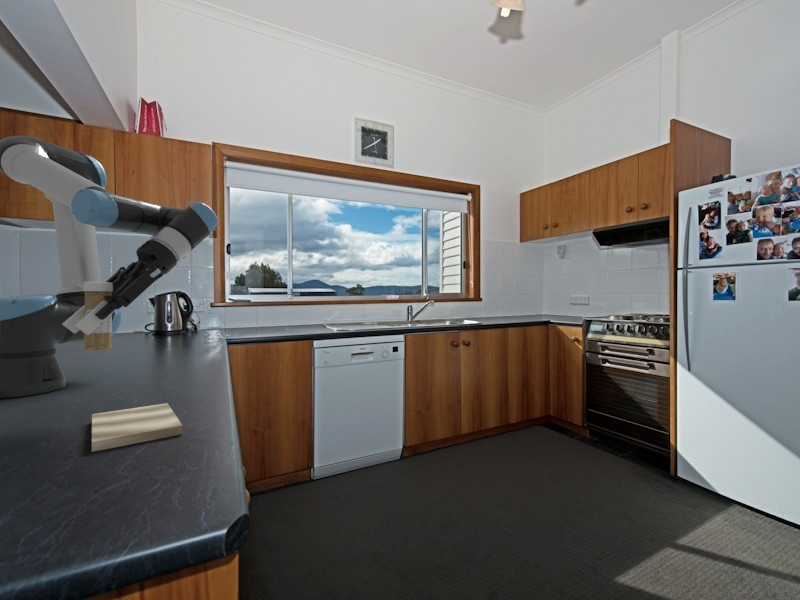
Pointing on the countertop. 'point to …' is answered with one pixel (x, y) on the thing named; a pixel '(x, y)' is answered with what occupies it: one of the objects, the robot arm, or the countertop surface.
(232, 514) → the countertop surface
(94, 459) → the countertop surface
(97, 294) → the sprinkles bottle
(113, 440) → the birch board
